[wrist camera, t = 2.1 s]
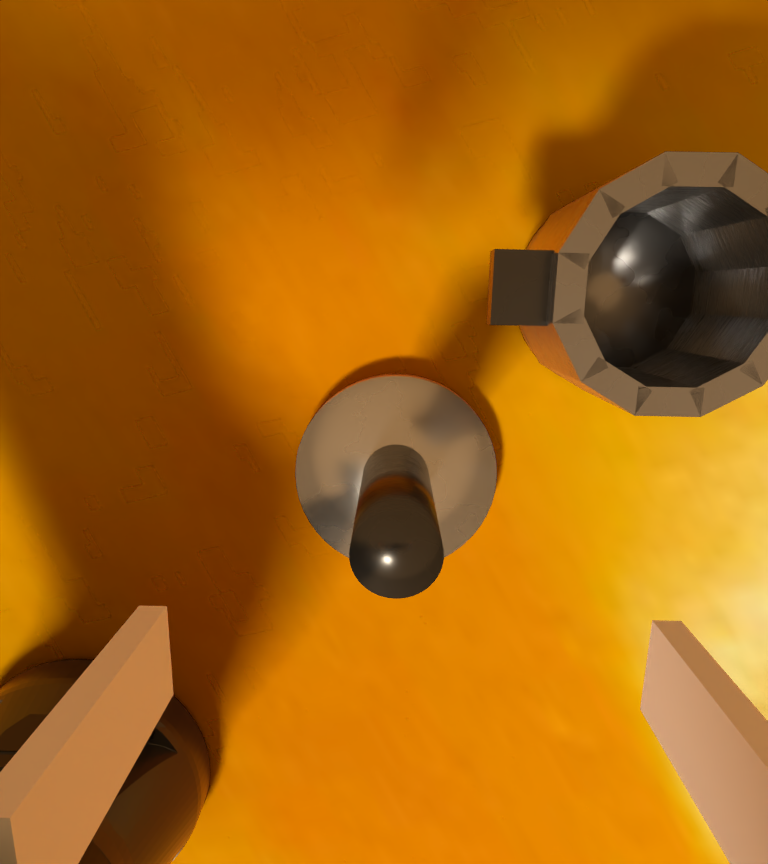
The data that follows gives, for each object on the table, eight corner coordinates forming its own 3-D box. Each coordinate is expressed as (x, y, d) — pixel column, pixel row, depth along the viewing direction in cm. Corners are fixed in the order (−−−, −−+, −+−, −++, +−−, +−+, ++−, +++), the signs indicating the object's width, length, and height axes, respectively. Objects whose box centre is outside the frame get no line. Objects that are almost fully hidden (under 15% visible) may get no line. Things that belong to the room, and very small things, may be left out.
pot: (465, 384, 32) (489, 412, 24) (475, 187, 30) (504, 149, 22) (736, 389, 32) (847, 419, 24) (766, 192, 29) (901, 155, 22)
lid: (300, 557, 34) (256, 678, 24) (297, 371, 32) (247, 410, 21) (487, 561, 34) (530, 685, 23) (499, 375, 32) (553, 416, 21)
